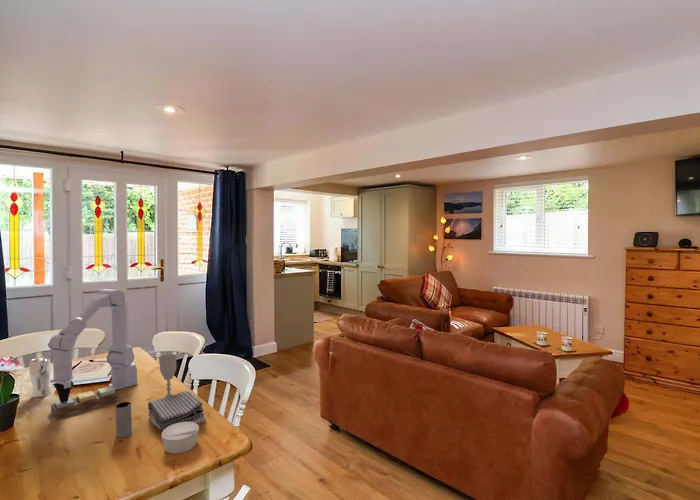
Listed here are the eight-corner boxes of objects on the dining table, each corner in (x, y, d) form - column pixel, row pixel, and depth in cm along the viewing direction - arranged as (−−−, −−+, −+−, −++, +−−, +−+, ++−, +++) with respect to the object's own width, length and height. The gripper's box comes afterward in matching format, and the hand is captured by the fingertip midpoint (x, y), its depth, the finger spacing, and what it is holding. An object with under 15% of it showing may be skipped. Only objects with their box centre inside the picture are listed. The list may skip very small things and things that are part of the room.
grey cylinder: (115, 439, 128) (114, 408, 128) (116, 432, 132) (115, 403, 132) (131, 435, 130) (130, 405, 130) (132, 429, 134) (131, 400, 134)
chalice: (155, 402, 155) (154, 358, 154) (169, 395, 161) (168, 353, 160) (169, 405, 152) (168, 360, 151) (182, 398, 159) (181, 355, 158)
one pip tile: (111, 390, 161) (111, 385, 161) (115, 394, 157) (115, 388, 157) (97, 394, 157) (97, 388, 157) (101, 397, 154) (101, 392, 153)
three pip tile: (70, 402, 150) (70, 397, 150) (73, 406, 147) (73, 401, 147) (54, 407, 147) (54, 401, 147) (57, 411, 143) (57, 405, 143)
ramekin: (175, 460, 117) (175, 443, 116) (154, 449, 123) (153, 433, 122) (206, 443, 126) (206, 427, 126) (185, 433, 132) (185, 418, 132)
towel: (188, 406, 153) (187, 386, 152) (207, 423, 139) (207, 401, 139) (146, 418, 143) (145, 397, 142) (162, 438, 129) (161, 415, 129)
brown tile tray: (112, 393, 164) (111, 386, 163) (120, 401, 156) (120, 394, 156) (50, 410, 148) (49, 402, 148) (56, 420, 141) (56, 412, 141)
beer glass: (56, 391, 166) (54, 356, 165) (41, 398, 159) (40, 362, 158) (41, 390, 166) (39, 356, 165) (26, 397, 159) (24, 361, 159)
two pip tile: (91, 395, 156) (91, 390, 155) (95, 399, 152) (95, 394, 152) (76, 399, 152) (76, 394, 152) (80, 403, 148) (79, 398, 148)
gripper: (45, 364, 148) (46, 399, 149) (53, 373, 138) (55, 411, 139) (67, 359, 153) (69, 393, 154) (77, 368, 143) (78, 404, 144)
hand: (64, 401), depth 147 cm, fingers closed, pressing on three pip tile
